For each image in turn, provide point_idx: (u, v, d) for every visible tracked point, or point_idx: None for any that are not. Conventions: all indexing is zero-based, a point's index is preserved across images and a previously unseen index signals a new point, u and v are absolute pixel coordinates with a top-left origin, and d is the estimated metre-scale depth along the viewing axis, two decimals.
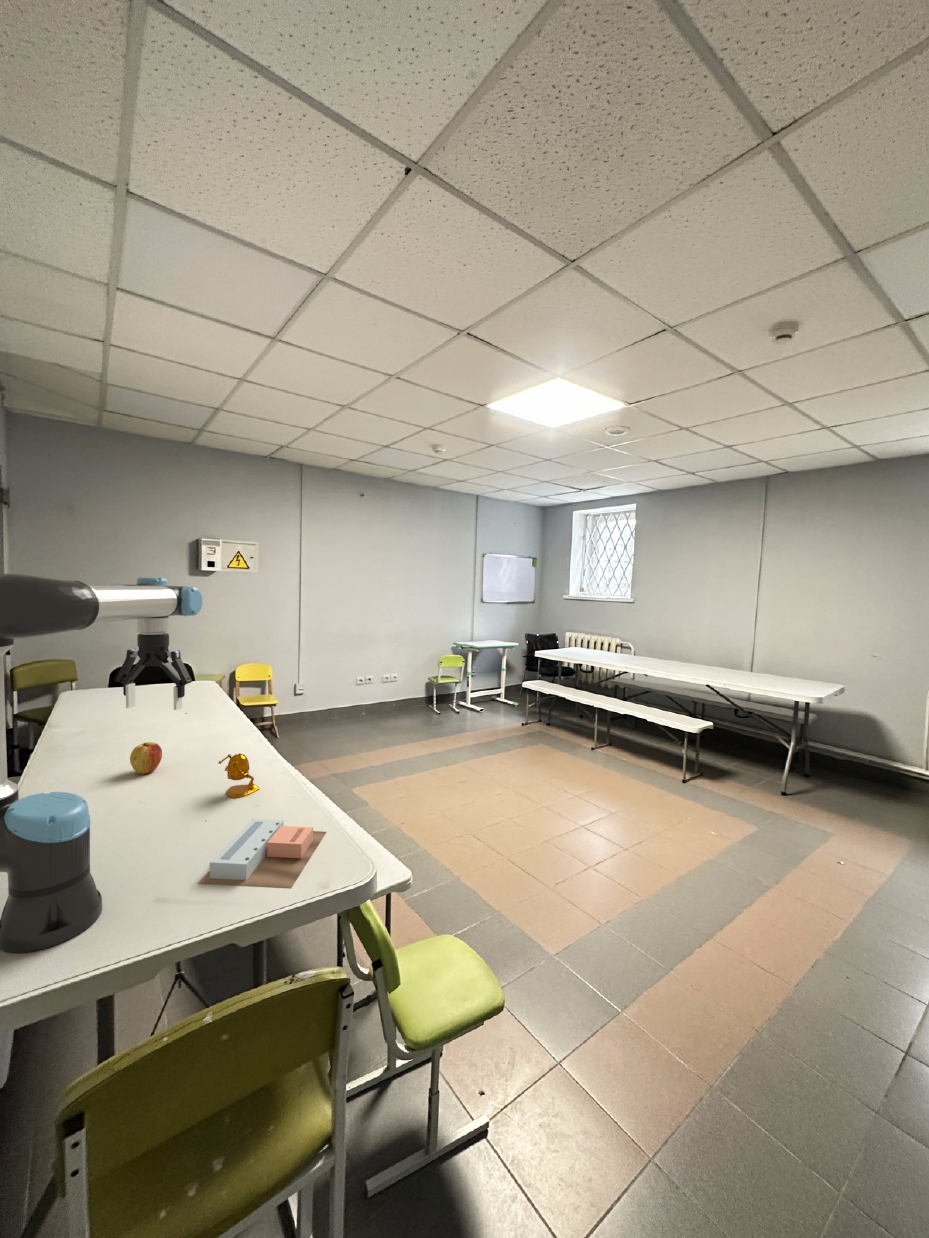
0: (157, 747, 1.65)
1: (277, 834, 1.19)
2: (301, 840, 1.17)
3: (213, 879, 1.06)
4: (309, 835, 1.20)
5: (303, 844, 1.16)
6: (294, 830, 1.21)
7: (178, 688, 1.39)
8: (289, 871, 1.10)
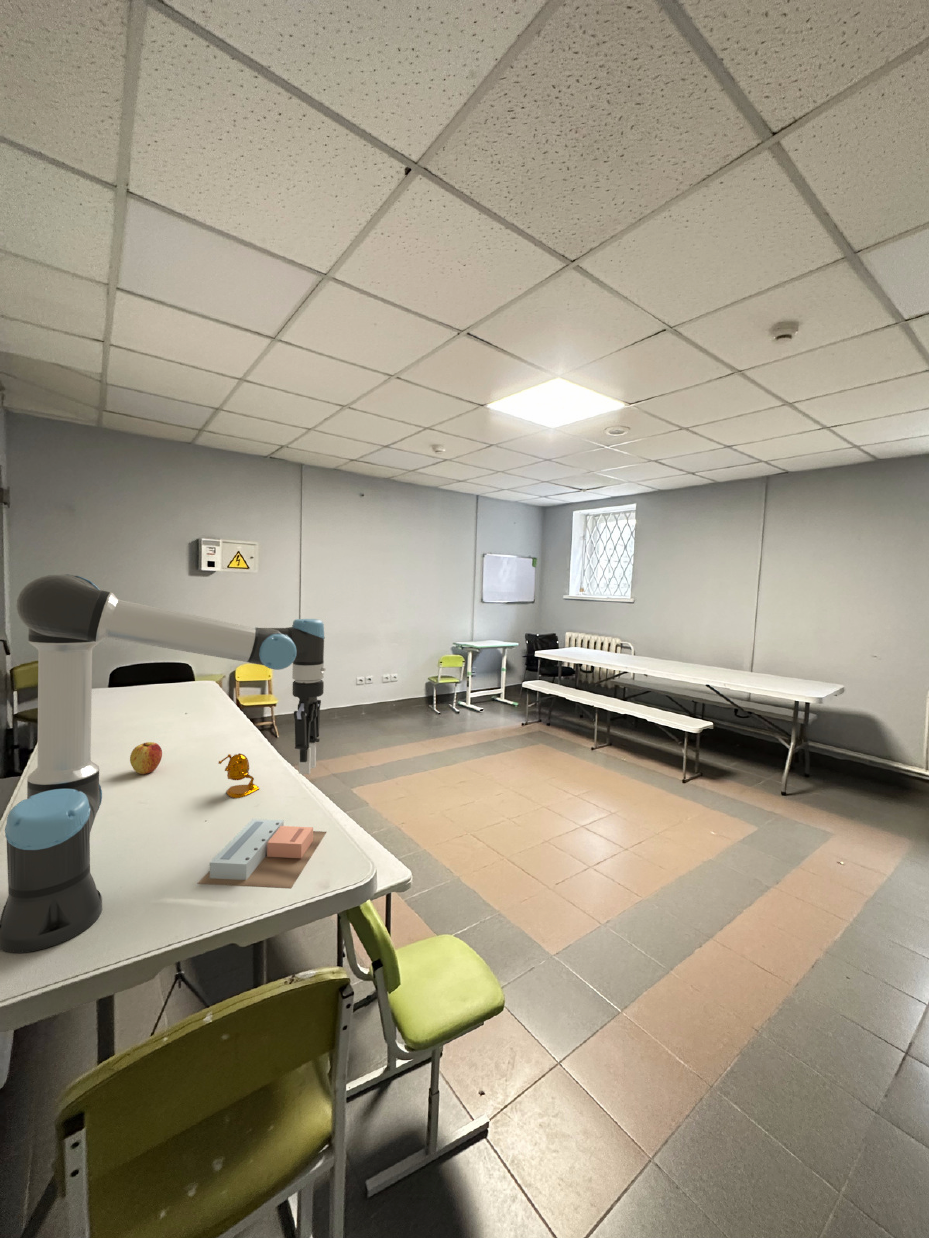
0: (157, 747, 1.65)
1: (277, 834, 1.19)
2: (301, 840, 1.17)
3: (213, 879, 1.06)
4: (309, 835, 1.20)
5: (303, 844, 1.16)
6: (294, 830, 1.21)
7: None
8: (289, 871, 1.10)
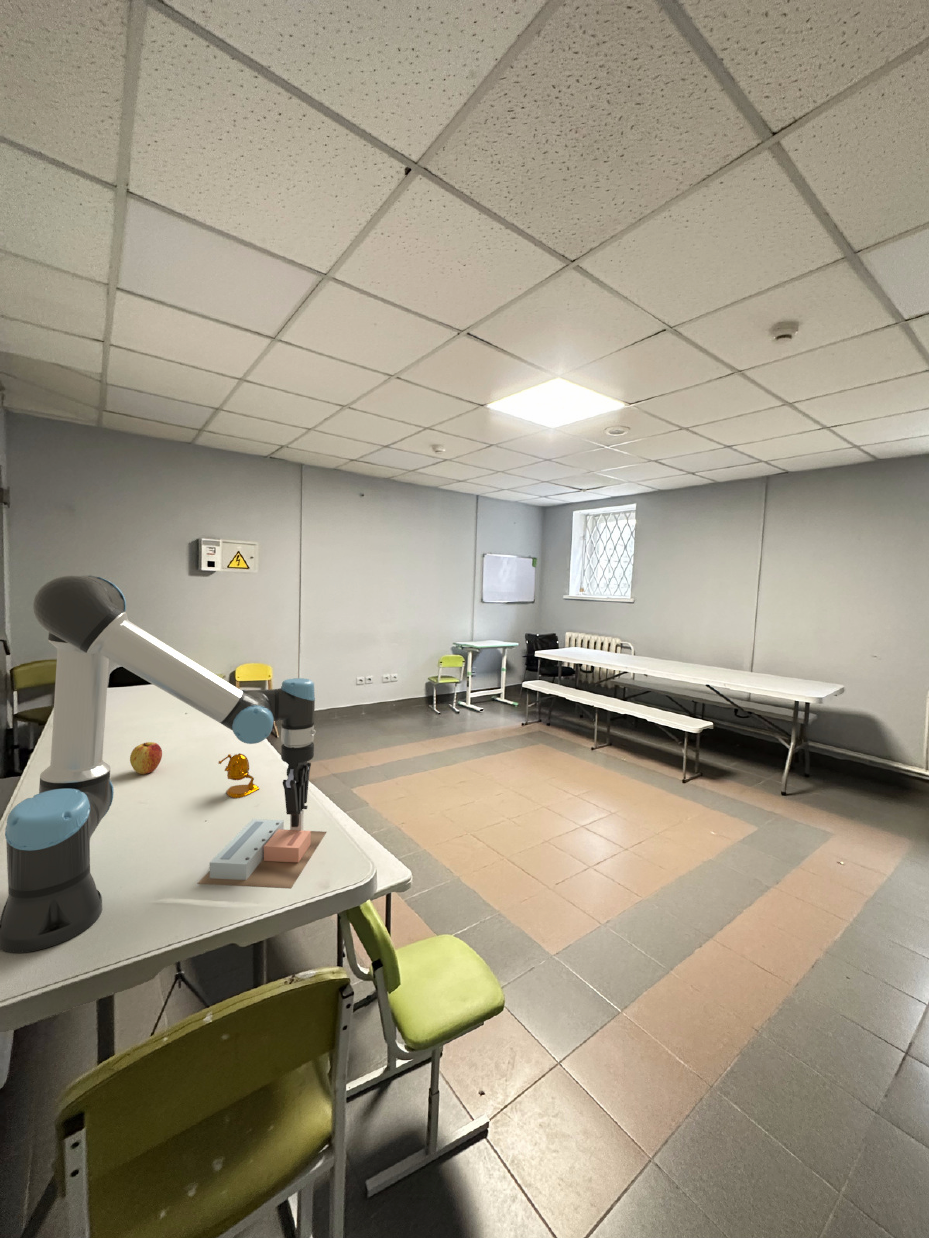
0: (157, 747, 1.65)
1: (274, 838, 1.17)
2: (298, 844, 1.15)
3: (213, 879, 1.06)
4: (306, 839, 1.19)
5: (300, 848, 1.14)
6: (291, 834, 1.19)
7: None
8: (289, 871, 1.10)
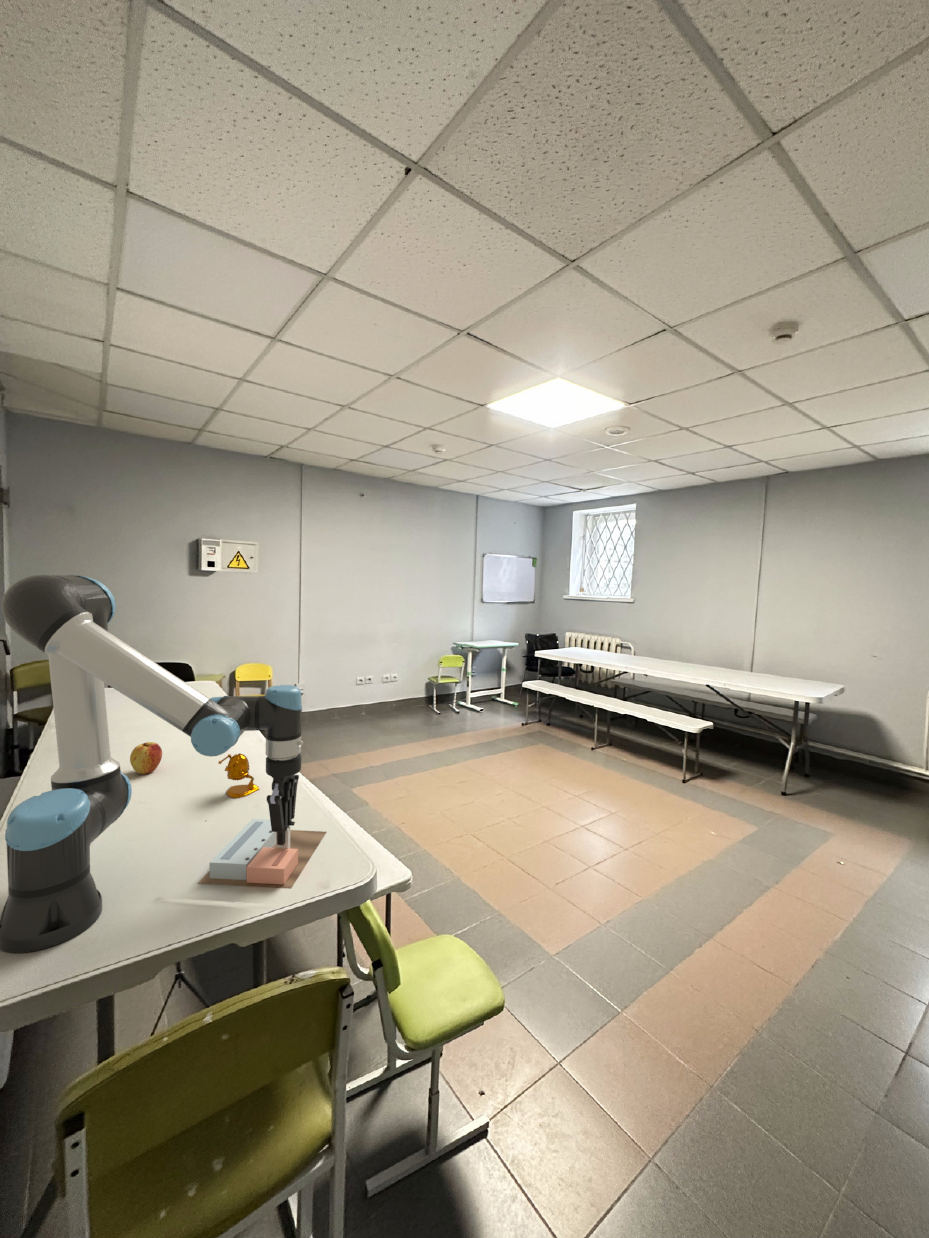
0: (157, 747, 1.65)
1: (258, 858, 1.09)
2: (284, 864, 1.07)
3: (213, 879, 1.06)
4: (293, 858, 1.10)
5: (285, 869, 1.06)
6: (277, 853, 1.11)
7: None
8: None
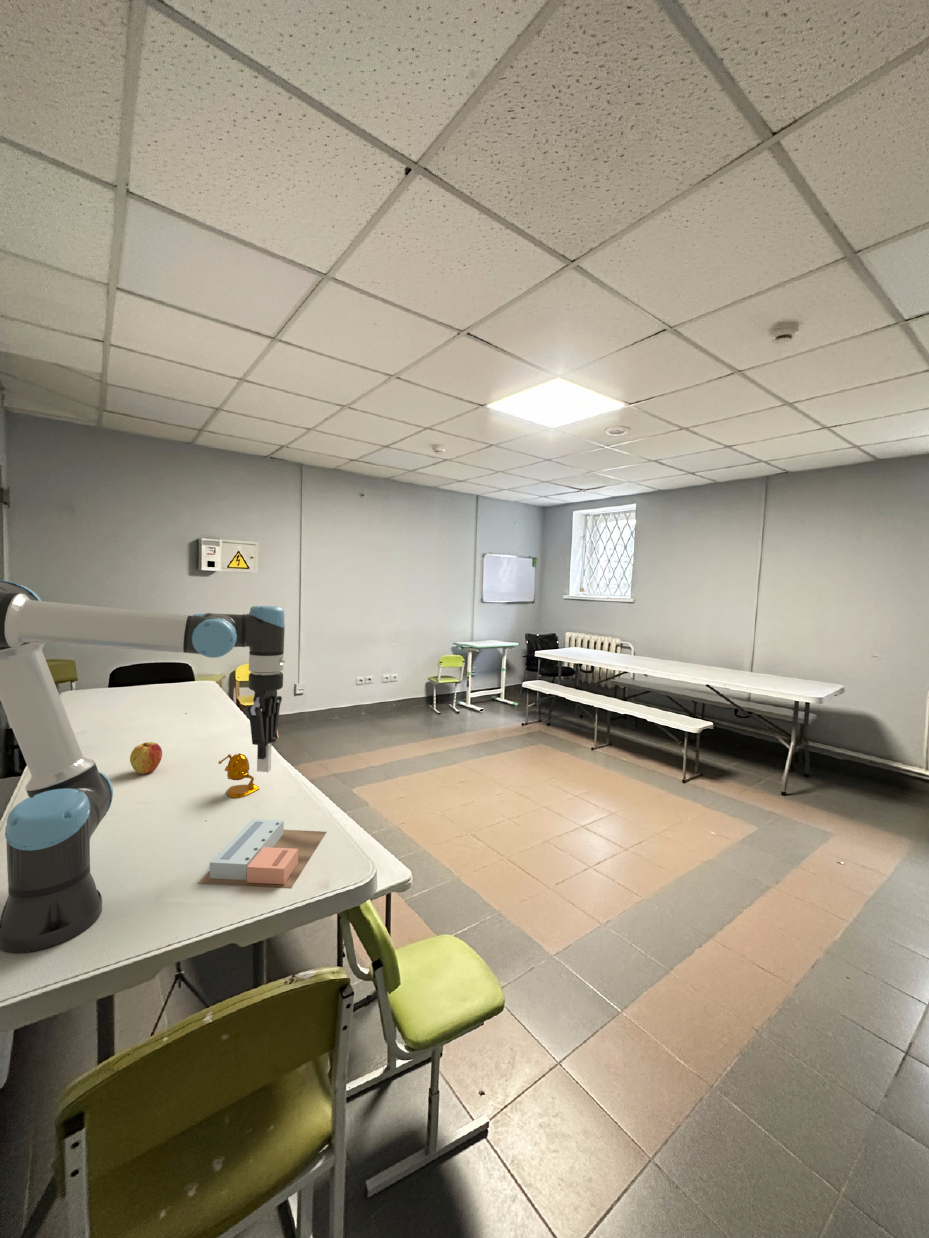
0: (157, 747, 1.65)
1: (258, 857, 1.09)
2: (284, 864, 1.07)
3: (213, 879, 1.06)
4: (293, 858, 1.10)
5: (286, 869, 1.06)
6: (277, 852, 1.11)
7: None
8: None
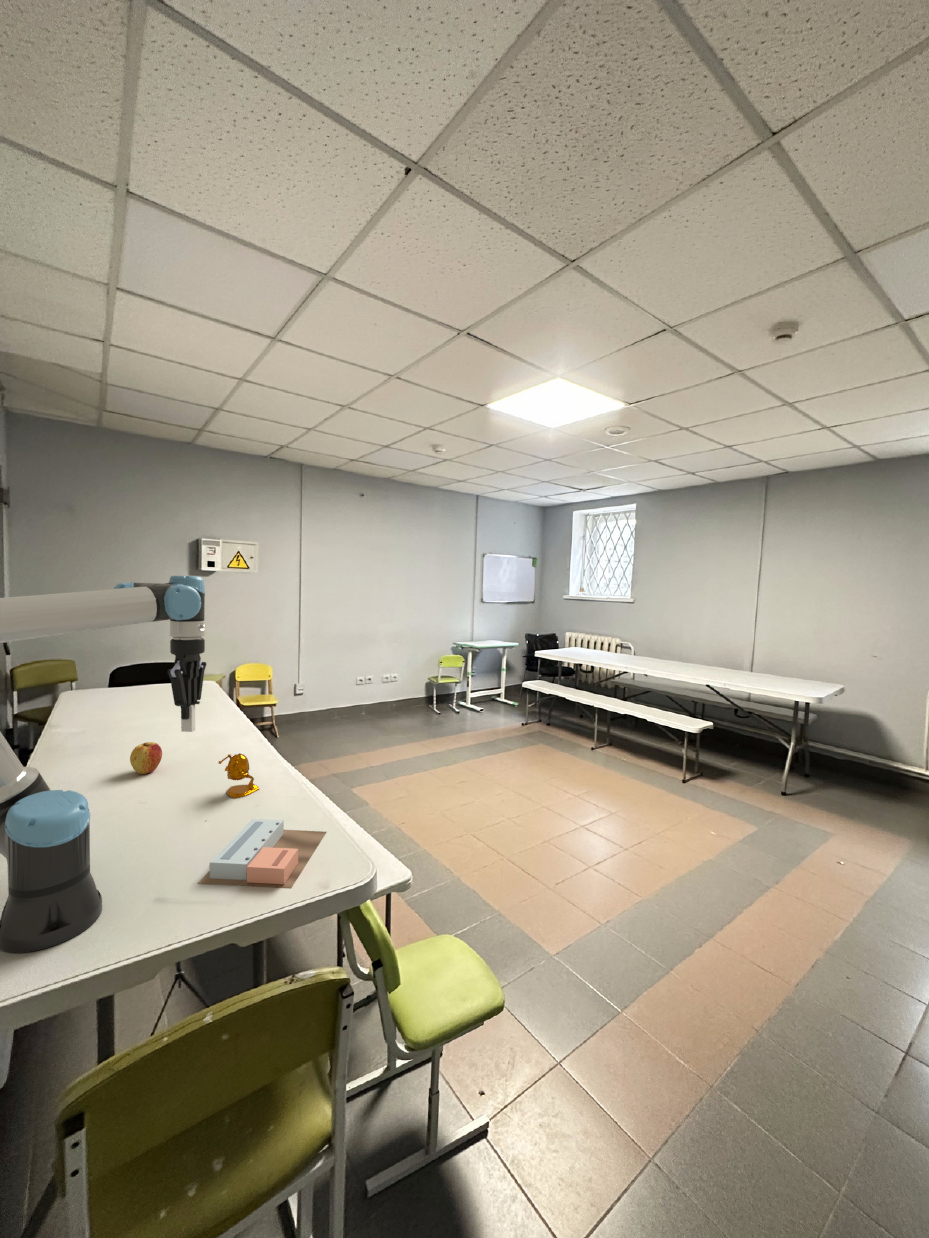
0: (157, 747, 1.65)
1: (258, 857, 1.09)
2: (284, 864, 1.07)
3: (213, 879, 1.06)
4: (293, 858, 1.10)
5: (286, 869, 1.06)
6: (277, 852, 1.11)
7: None
8: None
